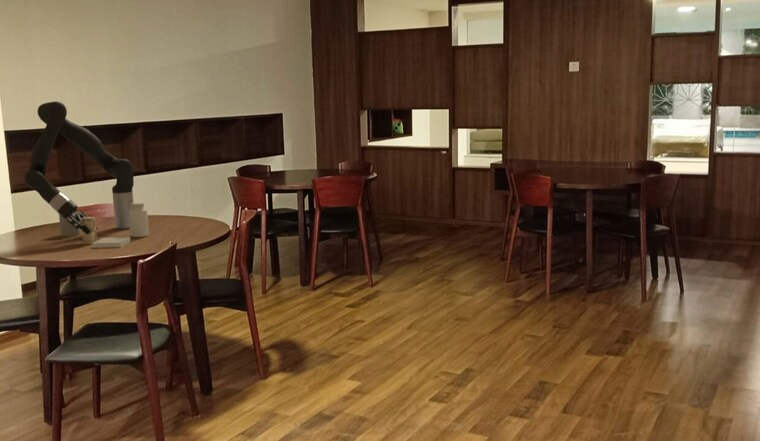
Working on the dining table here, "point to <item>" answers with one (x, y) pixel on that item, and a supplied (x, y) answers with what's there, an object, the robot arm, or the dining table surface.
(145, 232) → the pill bottle
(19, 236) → the dining table surface
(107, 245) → the block
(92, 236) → the maple block
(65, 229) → the cup
